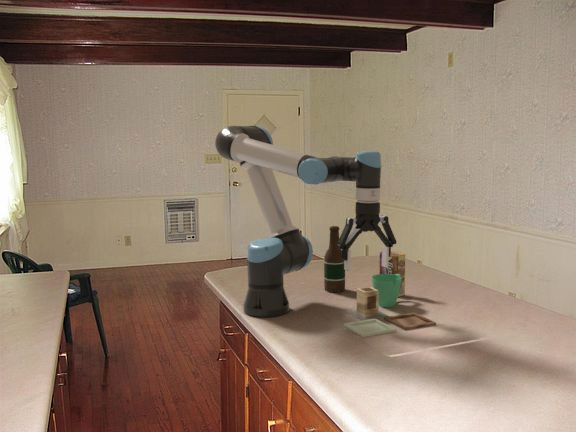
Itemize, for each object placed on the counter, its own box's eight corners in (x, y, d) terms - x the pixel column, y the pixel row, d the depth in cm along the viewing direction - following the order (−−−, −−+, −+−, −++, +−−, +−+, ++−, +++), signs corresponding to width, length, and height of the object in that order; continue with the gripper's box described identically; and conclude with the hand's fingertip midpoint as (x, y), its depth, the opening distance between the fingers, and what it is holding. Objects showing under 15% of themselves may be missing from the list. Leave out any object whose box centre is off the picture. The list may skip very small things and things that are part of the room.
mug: (393, 312, 182) (393, 282, 181) (366, 307, 188) (366, 278, 187) (412, 301, 194) (412, 273, 193) (386, 297, 200) (386, 269, 199)
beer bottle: (346, 292, 207) (345, 228, 204) (324, 293, 207) (324, 228, 204) (344, 287, 215) (344, 224, 212) (323, 287, 215) (323, 225, 212)
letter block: (364, 317, 176) (364, 292, 175) (356, 313, 181) (356, 288, 180) (378, 315, 178) (378, 290, 177) (370, 311, 183) (370, 286, 182)
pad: (361, 322, 173) (361, 320, 173) (346, 313, 182) (346, 311, 182) (389, 318, 177) (389, 316, 177) (373, 309, 186) (373, 307, 186)
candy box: (405, 295, 202) (406, 253, 200) (397, 297, 200) (398, 255, 198) (386, 290, 209) (386, 250, 207) (378, 292, 206) (378, 251, 204)
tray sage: (362, 338, 159) (362, 334, 159) (343, 327, 169) (343, 323, 169) (395, 333, 163) (395, 329, 163) (375, 322, 173) (375, 318, 173)
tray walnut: (404, 331, 164) (404, 327, 164) (384, 320, 174) (384, 317, 174) (435, 326, 168) (435, 322, 168) (414, 316, 178) (414, 312, 178)
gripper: (337, 204, 167) (336, 274, 170) (408, 200, 176) (406, 267, 179) (326, 201, 173) (325, 269, 176) (395, 198, 183) (393, 262, 186)
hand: (366, 268), depth 178 cm, fingers open, 13 cm apart
